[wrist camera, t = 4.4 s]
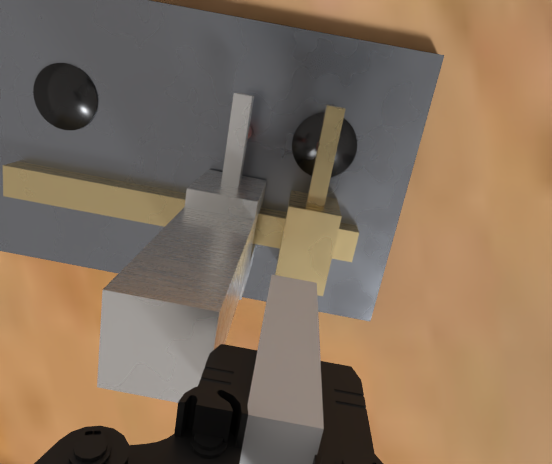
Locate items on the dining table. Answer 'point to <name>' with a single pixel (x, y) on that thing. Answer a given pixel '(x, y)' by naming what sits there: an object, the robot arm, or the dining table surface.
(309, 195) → the gauge rail
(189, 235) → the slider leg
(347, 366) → the robot arm
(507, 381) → the dining table surface
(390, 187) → the bolt plate
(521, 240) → the dining table surface
